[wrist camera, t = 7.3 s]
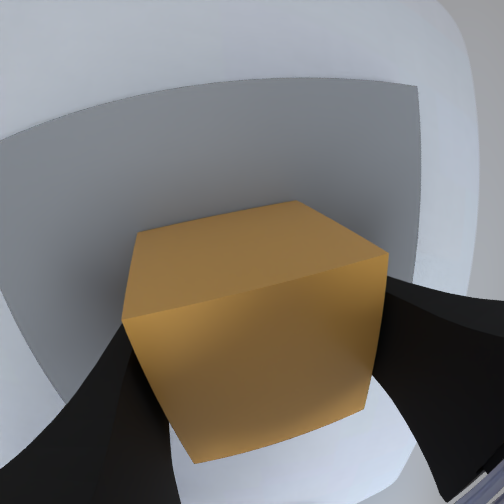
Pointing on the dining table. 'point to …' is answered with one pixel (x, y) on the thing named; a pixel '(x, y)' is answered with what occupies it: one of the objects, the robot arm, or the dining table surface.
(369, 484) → the dining table surface
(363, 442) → the dining table surface
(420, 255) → the dining table surface
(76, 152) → the post board
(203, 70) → the dining table surface
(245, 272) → the orange cube
